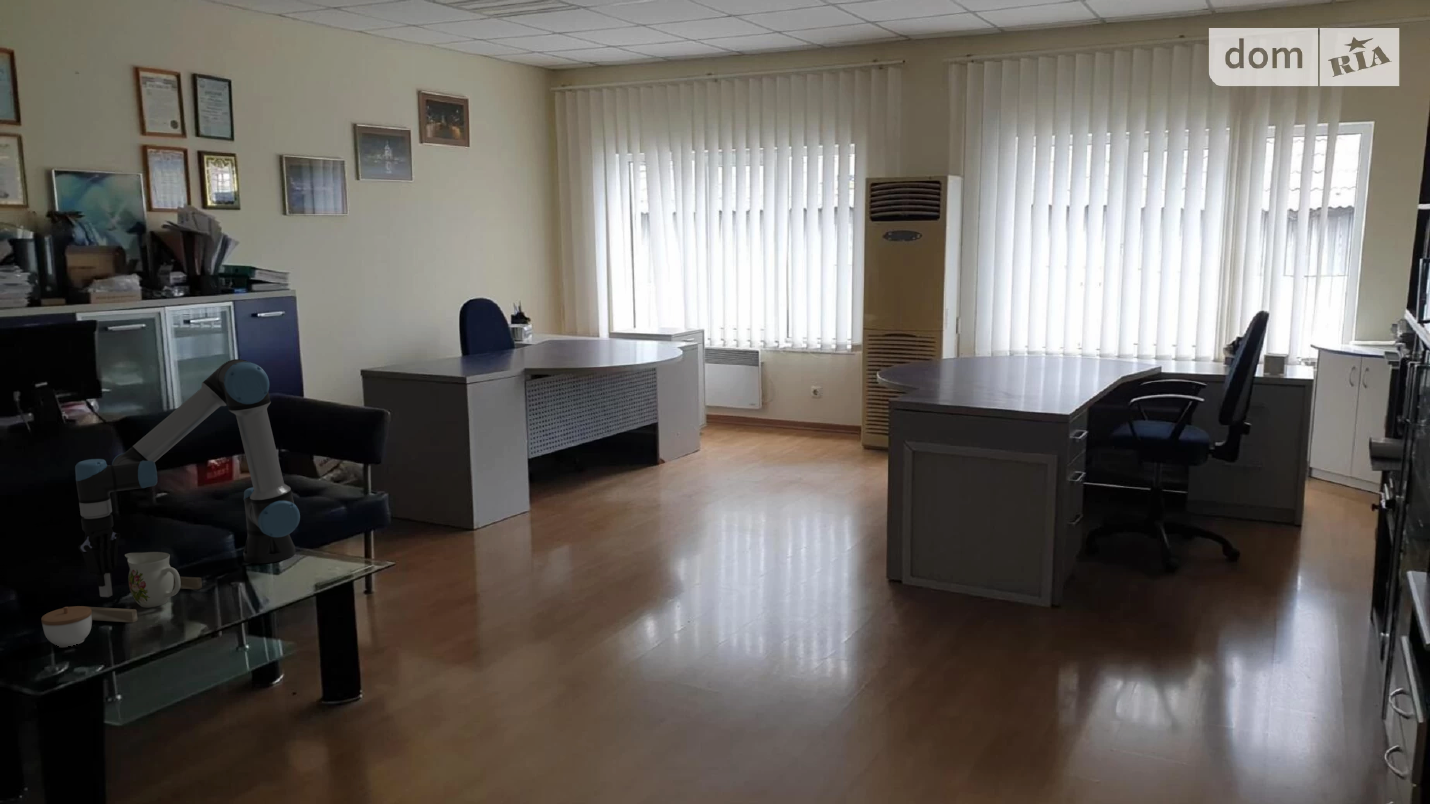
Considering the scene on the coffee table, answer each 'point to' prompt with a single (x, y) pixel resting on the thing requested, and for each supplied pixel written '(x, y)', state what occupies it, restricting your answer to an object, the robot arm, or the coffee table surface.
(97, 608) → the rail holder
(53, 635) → the lidded jar
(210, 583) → the coffee table surface
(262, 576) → the coffee table surface
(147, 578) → the pitcher
